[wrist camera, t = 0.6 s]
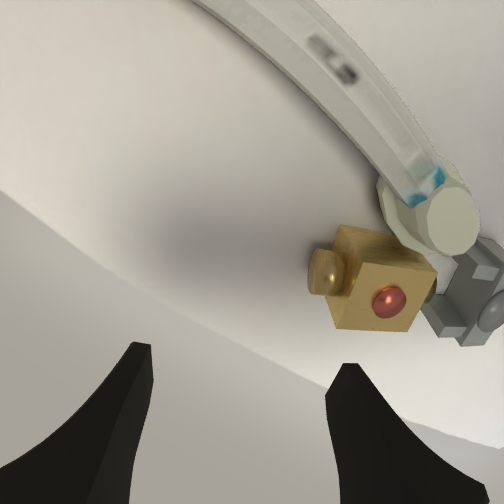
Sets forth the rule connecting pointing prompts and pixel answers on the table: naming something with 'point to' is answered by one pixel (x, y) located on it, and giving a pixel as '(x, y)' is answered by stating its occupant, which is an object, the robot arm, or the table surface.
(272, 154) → the table surface
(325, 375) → the table surface
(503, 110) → the table surface
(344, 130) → the toothbrush head
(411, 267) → the valve
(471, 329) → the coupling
